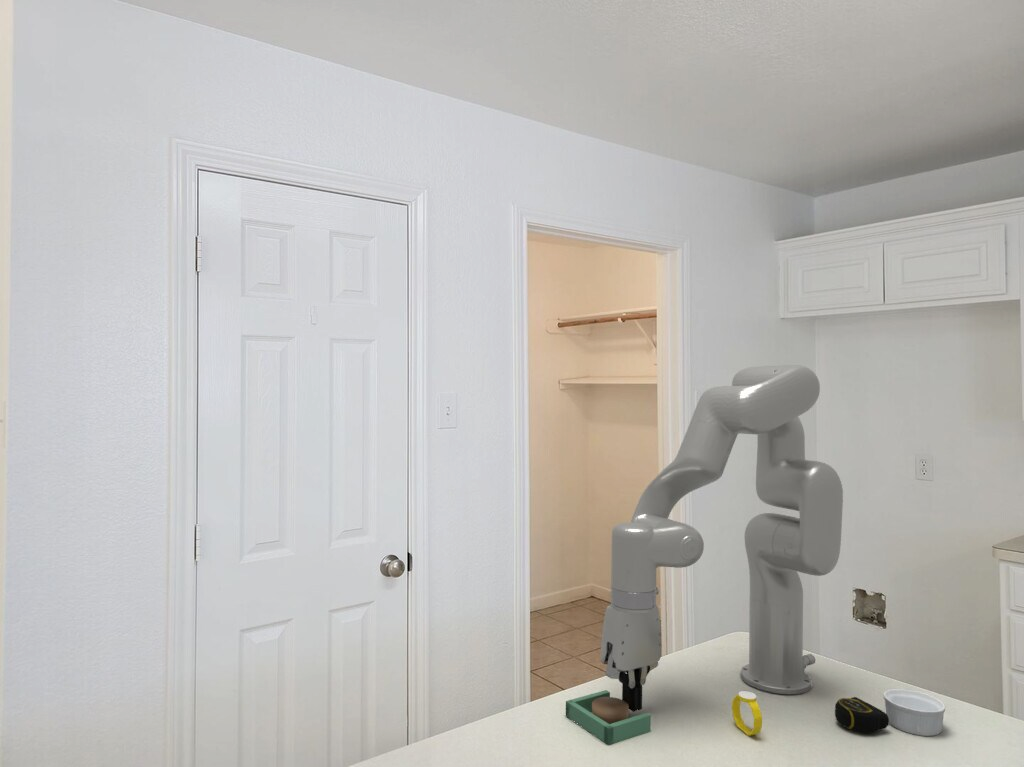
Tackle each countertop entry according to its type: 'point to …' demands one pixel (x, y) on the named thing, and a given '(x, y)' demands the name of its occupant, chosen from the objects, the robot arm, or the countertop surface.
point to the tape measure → (860, 715)
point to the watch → (751, 700)
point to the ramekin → (914, 712)
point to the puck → (610, 709)
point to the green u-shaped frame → (606, 732)
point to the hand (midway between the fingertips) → (631, 707)
